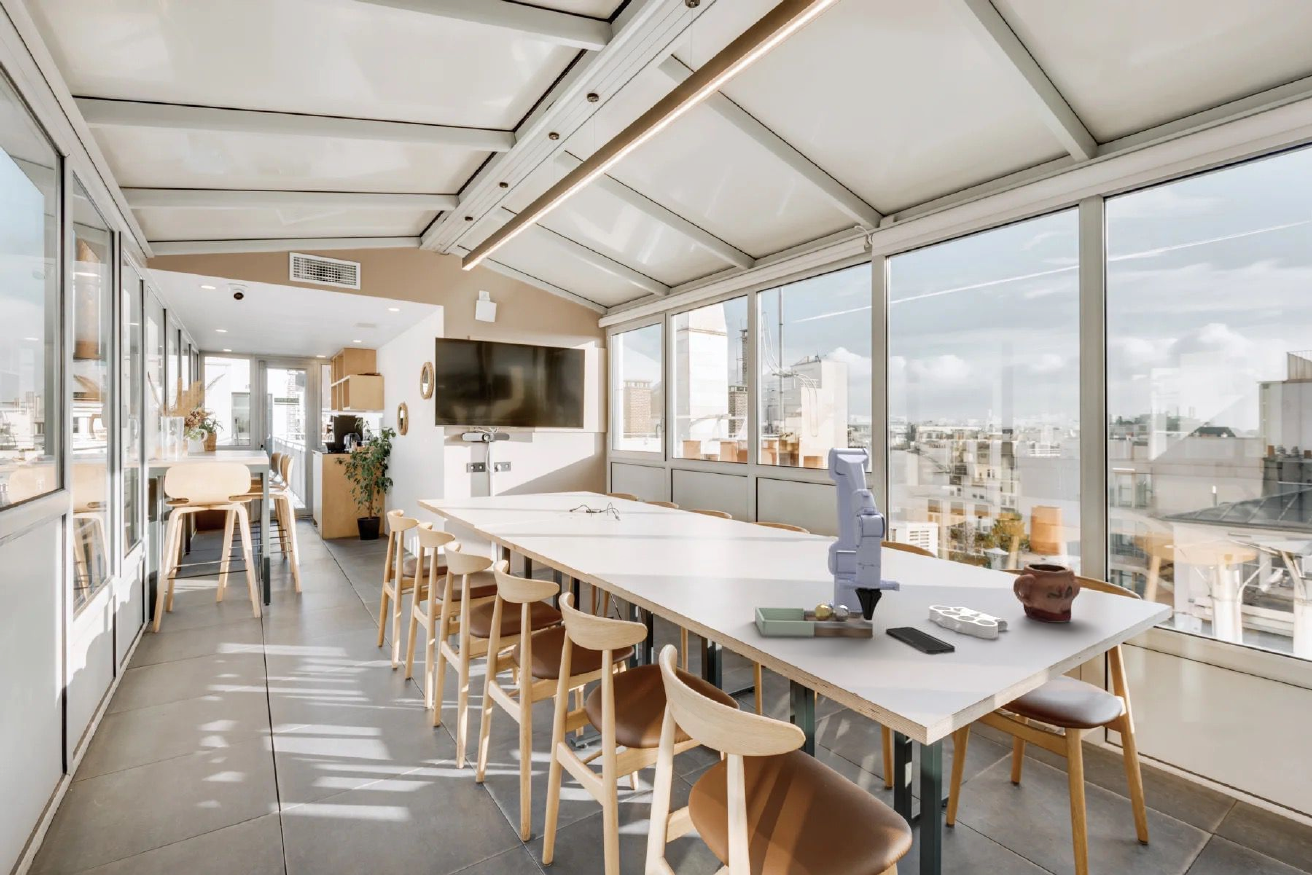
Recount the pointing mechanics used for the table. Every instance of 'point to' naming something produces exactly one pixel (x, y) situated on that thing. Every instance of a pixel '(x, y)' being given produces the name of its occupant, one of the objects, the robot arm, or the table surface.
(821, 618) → the brass ball
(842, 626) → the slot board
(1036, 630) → the table surface
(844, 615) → the steel ball
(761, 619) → the sage tray
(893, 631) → the phone
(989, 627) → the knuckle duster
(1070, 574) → the decorative planter
